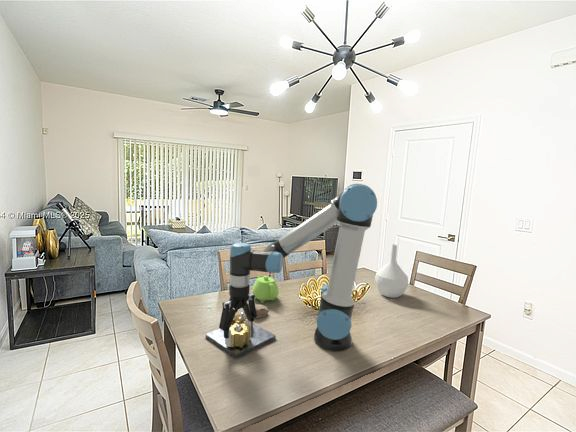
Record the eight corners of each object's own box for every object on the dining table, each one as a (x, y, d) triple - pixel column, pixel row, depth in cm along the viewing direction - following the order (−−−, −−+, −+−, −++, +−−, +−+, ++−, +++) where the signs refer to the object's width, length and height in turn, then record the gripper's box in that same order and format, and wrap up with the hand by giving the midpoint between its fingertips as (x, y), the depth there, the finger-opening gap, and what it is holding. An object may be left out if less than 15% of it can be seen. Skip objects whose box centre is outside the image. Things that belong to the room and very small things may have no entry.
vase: (369, 288, 186) (373, 241, 182) (397, 289, 188) (402, 241, 184) (381, 301, 168) (386, 248, 164) (412, 301, 170) (418, 249, 166)
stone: (252, 320, 139) (252, 309, 139) (244, 310, 150) (245, 300, 149) (270, 317, 143) (270, 307, 143) (261, 307, 153) (262, 298, 153)
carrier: (275, 338, 124) (276, 319, 123) (236, 358, 109) (236, 336, 108) (244, 321, 137) (244, 303, 136) (205, 337, 123) (205, 317, 121)
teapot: (246, 293, 170) (247, 272, 168) (268, 290, 176) (269, 269, 174) (261, 308, 152) (262, 283, 151) (284, 303, 159) (285, 280, 157)
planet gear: (254, 341, 117) (254, 329, 117) (235, 350, 111) (236, 337, 110) (240, 332, 123) (240, 321, 123) (221, 340, 117) (222, 328, 116)
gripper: (254, 275, 124) (253, 327, 127) (209, 288, 109) (208, 347, 111) (267, 280, 119) (265, 334, 122) (221, 294, 104) (220, 356, 106)
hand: (238, 340), depth 117 cm, fingers closed on planet gear, 9 cm apart
